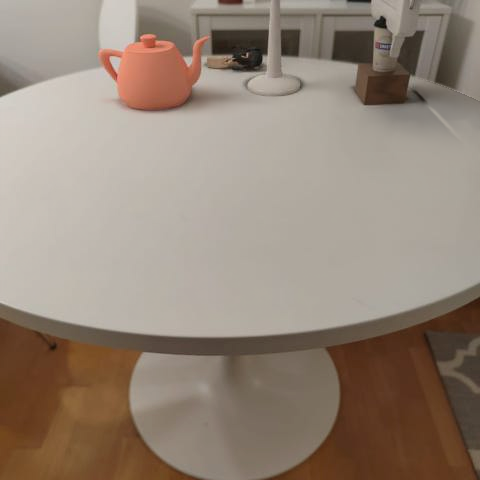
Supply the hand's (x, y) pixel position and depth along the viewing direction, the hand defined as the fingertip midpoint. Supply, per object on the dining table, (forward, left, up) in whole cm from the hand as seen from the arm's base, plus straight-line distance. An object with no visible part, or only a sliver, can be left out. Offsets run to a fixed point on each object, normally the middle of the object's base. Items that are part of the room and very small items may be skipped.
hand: (386, 50), depth 97 cm
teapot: (+50, -5, -10) cm, 51 cm away
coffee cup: (0, 0, -4) cm, 4 cm away
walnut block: (0, 0, -10) cm, 10 cm away
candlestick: (+23, -10, -10) cm, 27 cm away
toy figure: (+32, -26, -10) cm, 42 cm away
